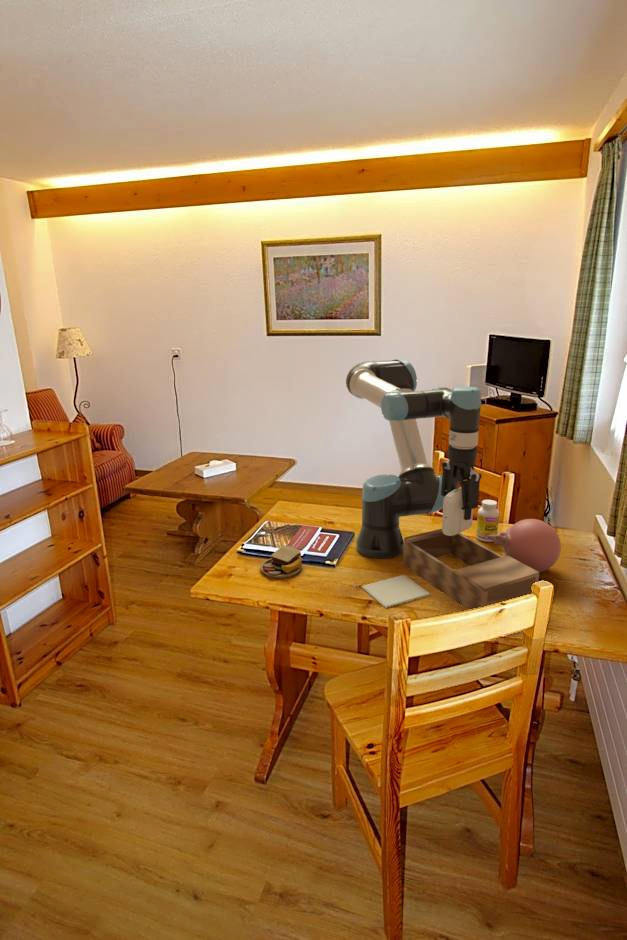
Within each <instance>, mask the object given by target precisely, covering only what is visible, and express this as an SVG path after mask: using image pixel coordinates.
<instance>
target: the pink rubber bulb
mask: <svg viewBox="0 0 627 940" xmlns="http://www.w3.org/2000/svg"><path fill="white" fill-rule="evenodd" d="M488 539H491V540H493V543H494V544H495V545H496V546H501V547H502V549H503V550H504V553H505V556H507V555H508V556H510V557H512V558H514V559H516V560H517V561H519V562H521V563H523V564H525V565H527V566H529V567H531V568H532V569H534V570H536V571H538V572H539V573H542V572H544V571H547V570H550V568H552V567H553V566H554V565H555V564H557V561H558V560H559V558H560V555H561V551H562V544H561V538H560V536H559V534H558V533H557V531H556V530H555V529H554V528H553V526H552V525H550V524H549V523H548V522H546V521H543V520H541V519H538V518H537V519H536V518H525V519H521V520H519V521H516V522H515V523H514V524H513V525H512V526H510V527H508V528H507V529H505V531H501V532H499V533H497V535H489V536H488Z"/></svg>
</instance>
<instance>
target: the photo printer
mask: <svg viewBox="0 0 627 940" xmlns="http://www.w3.org/2000/svg"><path fill="white" fill-rule="evenodd" d="M461 507H463V500H462V491H461V486H460V487H457V489H454V490H453V491H451V492H450V493H448V494H447V495H446V496H445V498H444V500H443V507H442V520H441V521H442V522H441V529H442V532H443V534H445V535H447V536H453V535H456V534H458V533H462V532H464V531H465V530H463V531H460V530H459V527H460V513H461ZM473 517H474V508H473V509H472V511H471V519H470V521H469V529H470V528H472V526H473Z"/></svg>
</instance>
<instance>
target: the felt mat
mask: <svg viewBox="0 0 627 940" xmlns="http://www.w3.org/2000/svg"><path fill="white" fill-rule="evenodd" d="M361 589H363V590H364V591H365V592H366V593H367V594H369V596H370V597H372V598H373V599H374V600H375V601H376V602H377V603H379V604H380V605H381V606H382V607H383V608H384V609H388V607H389V608H392V607H395V606H398V605H397V604H399V605H401V604H400V603H402V604H404V603H403V602H406V601H409V602H411V601H410V600H412V601H415V600H414V599H416V600H418V598H419V599H422V597H423V598H426V597H430V595H431V593H430V592H428V591H427V590H426V589H424V588H423V587H422V586H420V585H419V584H417V583H416V582H414V580H412V579H411V578H409V577H408V576H407V575H405V574H402V575H398V576H394V577H390V578H386V579H382V580H379V581H376V582H372V583H369V584H364V585H362V586H361ZM406 603H407V602H406ZM394 605H395V606H394ZM391 606H392V607H391Z"/></svg>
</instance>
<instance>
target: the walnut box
mask: <svg viewBox="0 0 627 940" xmlns="http://www.w3.org/2000/svg"><path fill="white" fill-rule="evenodd" d="M403 541H404V551H403V564H402V565H403V566H404V567H405V568H407V569H408V570H410V571H411V572H413V573H414V574H415V575H417V576H418V577H420V579H422V580H424V581H425V582H427V583H428V584H430V585H431V586H432V587H434V588H435V589H437V590H438V591H439V590H440V591H439V592H441V593H442V592H443V593H442V594H444V595H445V596H446V595H447V597H448V598H449V597H450V599H451V600H452V599H453V600H452V601H453V602H455V601H456V602H457V603H456V602H455V603H456V604H458V605H459V604H460V605H459V606H461V605H462V606H463V607H464V608H463V607H462V606H461V607H462V608H463V609H465V610H466V609H473V608H478V607H484V606H487V605H491V604H495V603H499V602H502V601H506V600H509V599H512V598H516V597H520V596H523V595H527V594H531V593H532V590H531V586H532V584H533V583H535V582H538V583H539V578H540V572H538V571H536V570H534V569H532V568H531V567H529V566H527V565H525V564H523V563H521V562H519V561H517V560H516V559H514V558H512V557H510V556H508V555H507V556H506V555H505V556H503V555H501V554H500V553H498V552H496V551H494V550H492V549H490V548H488V547H487V546H485V545H483V544H481V543H479V542H478V541H475V540H474V539H472V538H470V537H468V536H466V535H465V534H463V533H462V532H460V533H458V534H456V535H453V536H447V535H445V534H443V532H442V528H439V529H435V530H431V531H430V530H429V531H426V532H422V533H418V534H413V535H410V536H406V537H403ZM450 555H451V556H453V557H454V558H456V559H457V560H459V561H461V562H462V563H464V564H466V565H467V566H464V567H460V568H458V569H453V568H452V567H450V566H449V565H447V564H445V563H444V562H442V561H441V560H440V559H439V558H442V557H447V556H450Z"/></svg>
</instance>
